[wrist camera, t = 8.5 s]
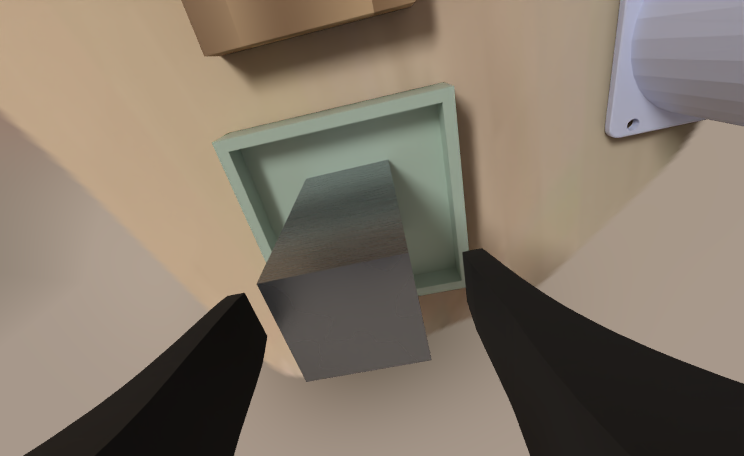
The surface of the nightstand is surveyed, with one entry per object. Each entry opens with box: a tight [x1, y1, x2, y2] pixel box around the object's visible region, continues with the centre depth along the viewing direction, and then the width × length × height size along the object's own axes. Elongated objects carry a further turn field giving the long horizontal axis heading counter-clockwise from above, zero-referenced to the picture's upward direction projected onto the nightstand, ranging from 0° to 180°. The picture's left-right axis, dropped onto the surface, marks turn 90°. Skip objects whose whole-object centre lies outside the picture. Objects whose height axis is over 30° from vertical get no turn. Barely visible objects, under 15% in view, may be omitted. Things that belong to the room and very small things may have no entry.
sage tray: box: [212, 82, 469, 296], centre depth 16 cm, size 10×10×2 cm
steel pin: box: [257, 160, 431, 382], centre depth 13 cm, size 4×4×8 cm
